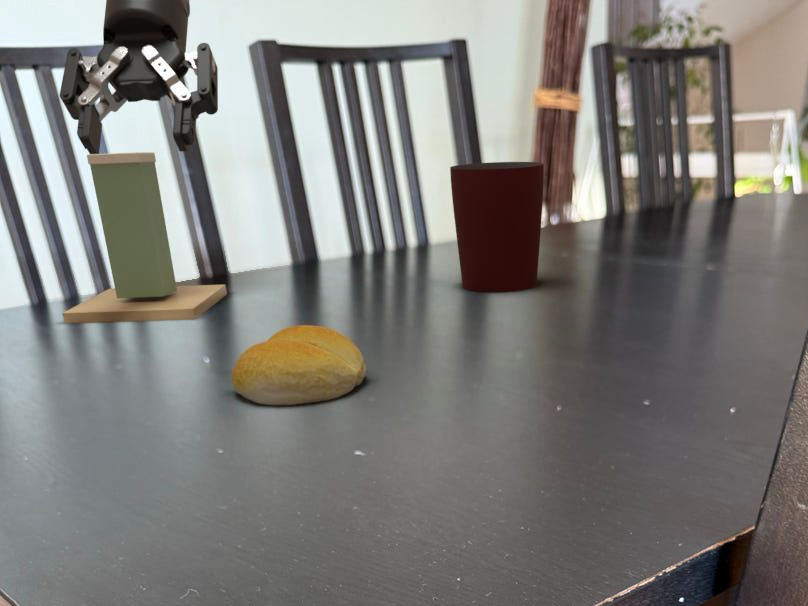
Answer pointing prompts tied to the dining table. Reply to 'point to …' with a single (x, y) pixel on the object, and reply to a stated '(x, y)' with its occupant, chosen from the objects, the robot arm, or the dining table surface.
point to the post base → (146, 306)
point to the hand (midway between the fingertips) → (135, 146)
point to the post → (133, 223)
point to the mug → (498, 224)
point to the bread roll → (299, 367)
